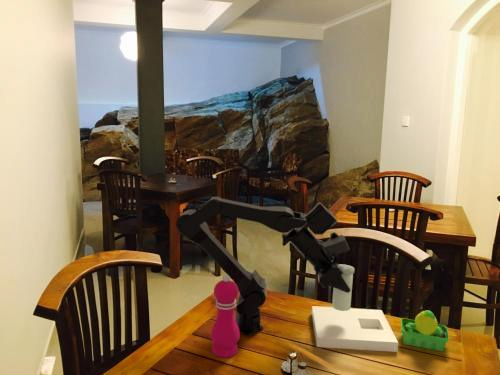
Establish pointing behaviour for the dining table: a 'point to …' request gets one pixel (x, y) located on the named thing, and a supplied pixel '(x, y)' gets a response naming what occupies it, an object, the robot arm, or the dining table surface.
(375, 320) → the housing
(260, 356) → the dining table surface
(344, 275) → the grey cylinder
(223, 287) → the pepper mill
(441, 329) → the fruit basket
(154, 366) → the dining table surface
